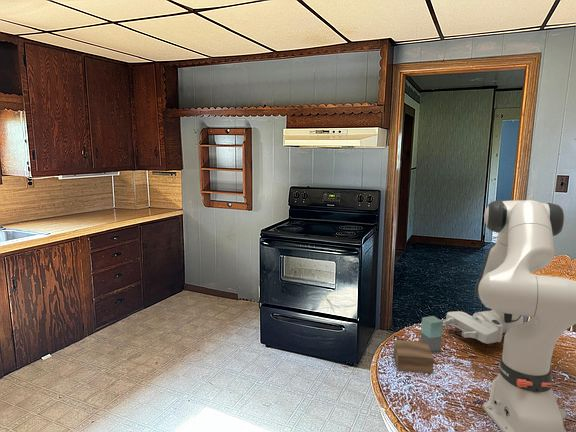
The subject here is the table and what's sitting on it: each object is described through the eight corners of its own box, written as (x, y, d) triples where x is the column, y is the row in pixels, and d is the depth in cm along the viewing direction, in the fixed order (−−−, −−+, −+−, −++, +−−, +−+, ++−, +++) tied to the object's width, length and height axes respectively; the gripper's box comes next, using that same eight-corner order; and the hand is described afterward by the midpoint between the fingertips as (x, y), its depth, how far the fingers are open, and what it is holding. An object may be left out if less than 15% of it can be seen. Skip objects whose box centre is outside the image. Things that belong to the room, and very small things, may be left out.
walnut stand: (432, 373, 130) (433, 358, 129) (397, 370, 131) (398, 356, 130) (426, 355, 140) (427, 342, 140) (393, 353, 142) (394, 339, 141)
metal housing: (440, 350, 144) (443, 321, 142) (429, 352, 142) (431, 323, 140) (431, 344, 149) (433, 315, 147) (420, 346, 147) (422, 317, 145)
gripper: (463, 305, 161) (435, 310, 157) (506, 327, 142) (475, 332, 138) (462, 320, 162) (433, 325, 158) (504, 343, 143) (473, 350, 139)
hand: (453, 329), depth 147 cm, fingers open, 8 cm apart
